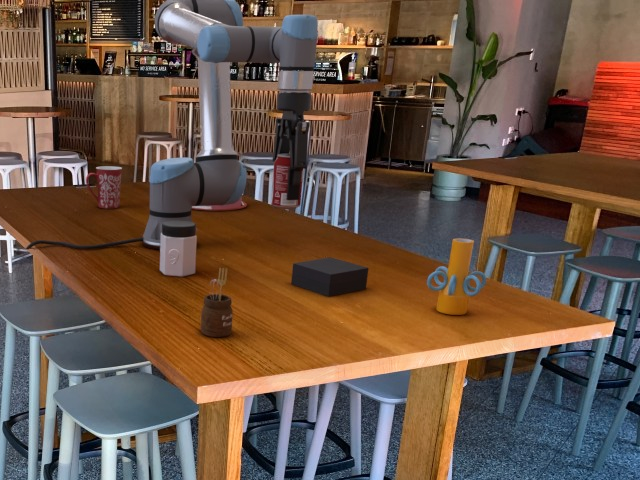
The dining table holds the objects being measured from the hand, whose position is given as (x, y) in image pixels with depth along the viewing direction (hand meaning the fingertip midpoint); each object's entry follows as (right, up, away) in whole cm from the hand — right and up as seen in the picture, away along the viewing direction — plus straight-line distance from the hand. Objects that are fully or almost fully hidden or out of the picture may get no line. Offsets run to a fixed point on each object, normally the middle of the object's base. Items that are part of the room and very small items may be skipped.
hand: (286, 197), depth 184 cm
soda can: (0, -2, +1) cm, 3 cm away
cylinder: (+31, -28, -18) cm, 46 cm away
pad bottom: (+10, -21, 0) cm, 23 cm away
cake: (-7, +21, +100) cm, 103 cm away
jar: (-25, -16, +11) cm, 31 cm away
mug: (-45, +19, +95) cm, 106 cm away
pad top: (+10, -19, -1) cm, 21 cm away
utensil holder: (-20, -34, -32) cm, 50 cm away
